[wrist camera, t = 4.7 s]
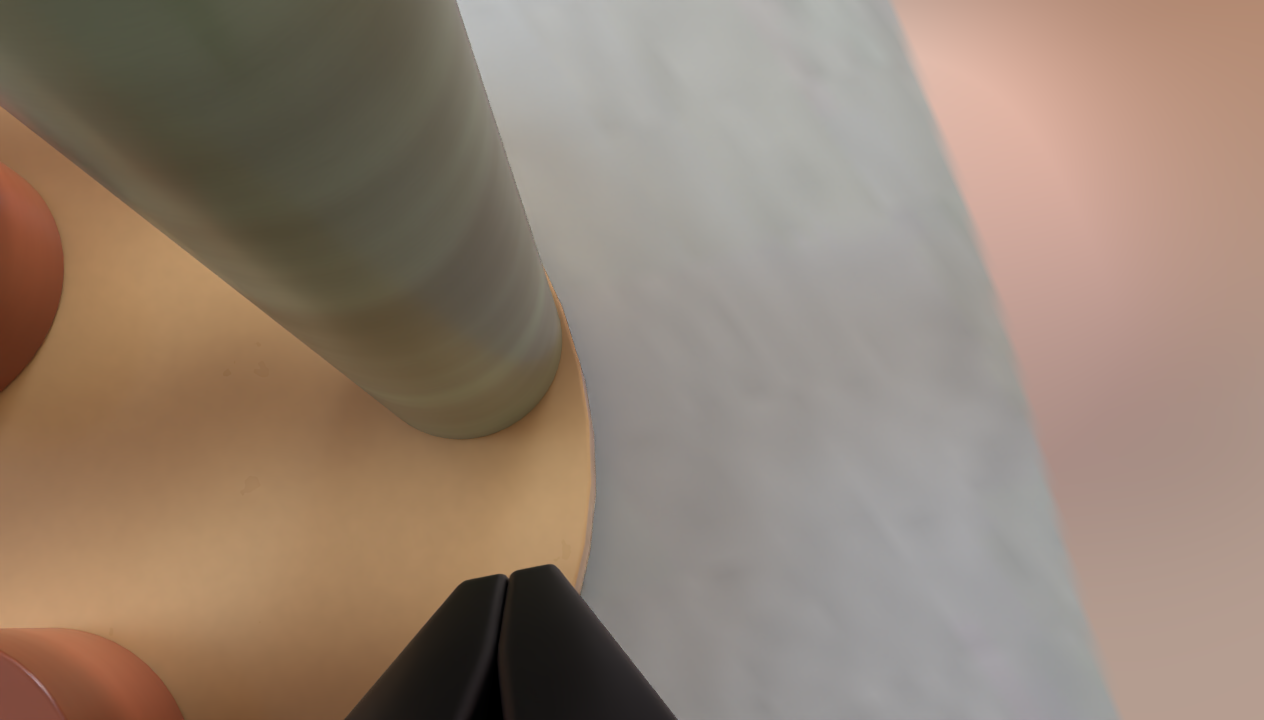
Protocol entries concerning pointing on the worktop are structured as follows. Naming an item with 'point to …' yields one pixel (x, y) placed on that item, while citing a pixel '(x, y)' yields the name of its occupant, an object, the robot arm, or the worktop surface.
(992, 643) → the worktop surface
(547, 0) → the worktop surface
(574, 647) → the robot arm
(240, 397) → the wooden disc stand
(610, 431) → the worktop surface
